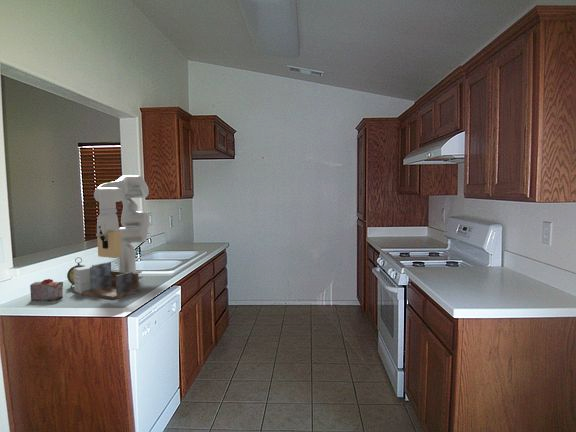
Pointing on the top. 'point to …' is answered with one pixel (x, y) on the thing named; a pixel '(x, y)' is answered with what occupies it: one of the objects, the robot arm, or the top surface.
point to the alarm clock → (71, 273)
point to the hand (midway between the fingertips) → (109, 247)
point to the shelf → (111, 282)
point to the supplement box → (82, 279)
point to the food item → (46, 290)
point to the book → (110, 245)
